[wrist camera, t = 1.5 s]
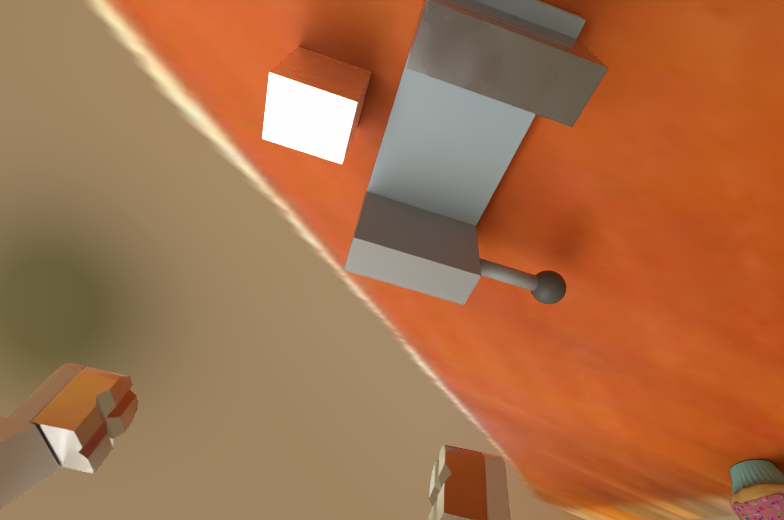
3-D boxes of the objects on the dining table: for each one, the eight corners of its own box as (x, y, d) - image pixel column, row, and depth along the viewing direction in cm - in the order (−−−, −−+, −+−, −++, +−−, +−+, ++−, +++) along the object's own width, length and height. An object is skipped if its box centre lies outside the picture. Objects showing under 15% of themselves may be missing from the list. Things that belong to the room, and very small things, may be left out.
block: (298, 46, 27) (269, 72, 23) (371, 71, 28) (357, 102, 23) (290, 104, 30) (262, 138, 25) (357, 126, 31) (342, 164, 26)
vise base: (437, -40, 24) (435, -27, 18) (693, 60, 26) (766, 101, 20) (360, 212, 35) (343, 269, 29) (542, 268, 37) (561, 333, 31)
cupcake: (699, 474, 57) (749, 583, 47) (746, 445, 51) (813, 561, 42) (757, 486, 57) (818, 596, 48) (810, 459, 52) (889, 576, 43)
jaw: (430, -17, 23) (427, -1, 19) (576, 39, 24) (608, 68, 20) (413, 40, 25) (406, 68, 20) (549, 90, 26) (572, 127, 22)
